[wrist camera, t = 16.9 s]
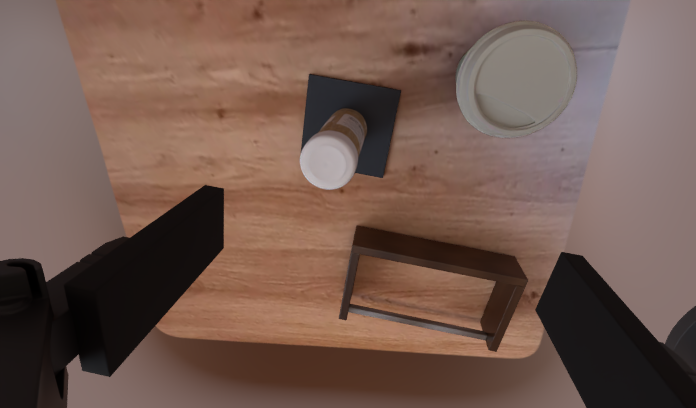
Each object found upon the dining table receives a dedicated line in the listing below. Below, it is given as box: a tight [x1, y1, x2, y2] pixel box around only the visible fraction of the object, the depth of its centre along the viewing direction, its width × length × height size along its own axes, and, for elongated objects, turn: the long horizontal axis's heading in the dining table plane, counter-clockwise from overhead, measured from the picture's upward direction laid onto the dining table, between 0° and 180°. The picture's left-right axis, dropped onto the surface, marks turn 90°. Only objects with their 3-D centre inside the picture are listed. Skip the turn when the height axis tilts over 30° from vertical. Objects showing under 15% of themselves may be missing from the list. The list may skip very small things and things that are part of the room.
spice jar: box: [300, 109, 367, 190], centre depth 34 cm, size 5×5×13 cm
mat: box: [301, 74, 401, 178], centre depth 41 cm, size 10×10×1 cm
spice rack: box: [339, 226, 528, 352], centre depth 45 cm, size 20×11×5 cm, turn 81°
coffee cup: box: [455, 21, 577, 138], centre depth 32 cm, size 9×8×12 cm
